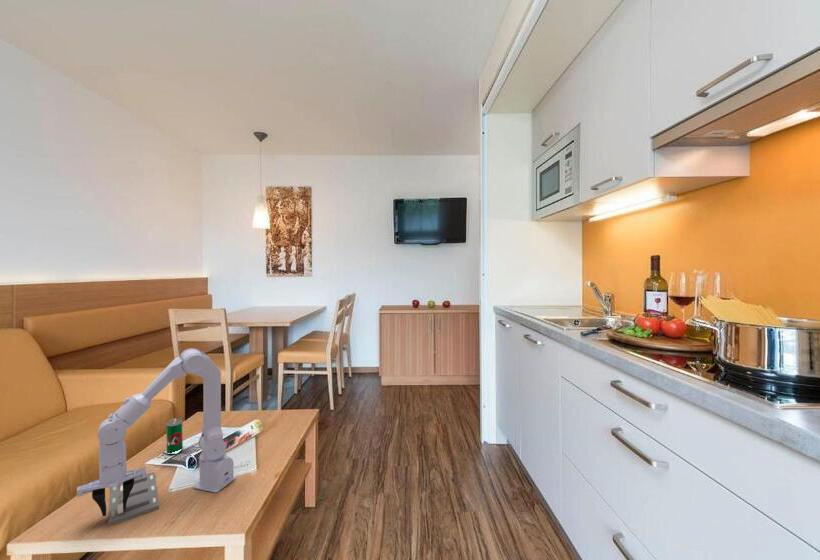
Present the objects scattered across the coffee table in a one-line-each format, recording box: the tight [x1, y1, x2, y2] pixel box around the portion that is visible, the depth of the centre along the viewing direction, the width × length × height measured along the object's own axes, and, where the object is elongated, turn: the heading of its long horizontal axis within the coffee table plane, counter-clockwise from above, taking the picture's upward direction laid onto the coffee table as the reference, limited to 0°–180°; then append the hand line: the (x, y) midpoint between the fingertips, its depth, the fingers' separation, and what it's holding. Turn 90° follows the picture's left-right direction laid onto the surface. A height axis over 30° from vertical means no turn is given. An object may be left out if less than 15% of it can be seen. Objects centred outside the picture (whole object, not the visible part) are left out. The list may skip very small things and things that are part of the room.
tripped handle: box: [117, 498, 123, 514], centre depth 97 cm, size 1×3×3 cm, turn 39°
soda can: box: [165, 418, 184, 454], centre depth 132 cm, size 5×5×12 cm
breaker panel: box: [107, 471, 160, 527], centre depth 105 cm, size 11×22×4 cm, turn 39°
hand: (114, 510), depth 96 cm, fingers open, 3 cm apart
